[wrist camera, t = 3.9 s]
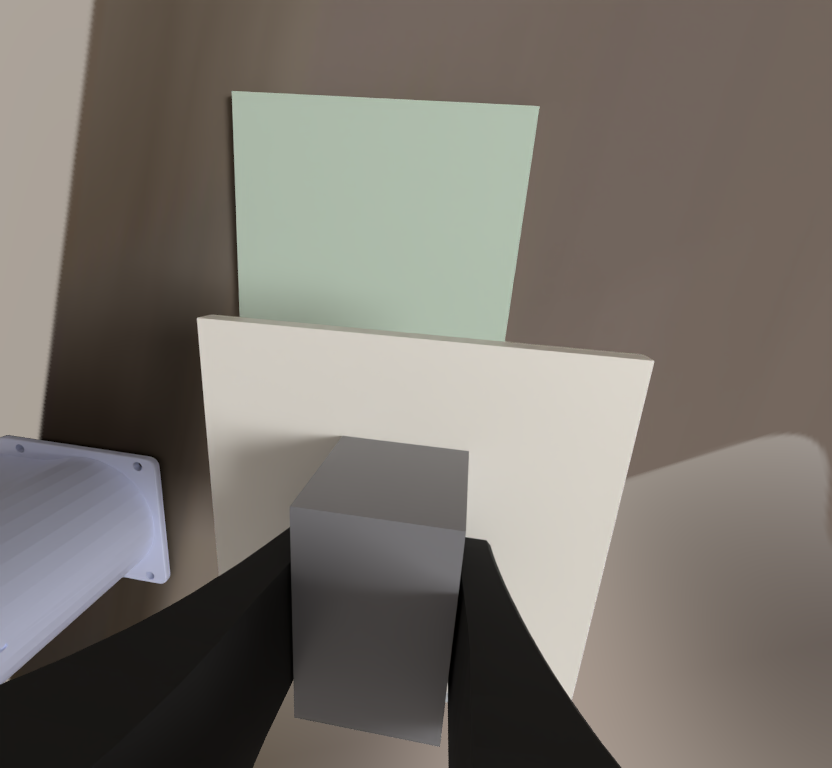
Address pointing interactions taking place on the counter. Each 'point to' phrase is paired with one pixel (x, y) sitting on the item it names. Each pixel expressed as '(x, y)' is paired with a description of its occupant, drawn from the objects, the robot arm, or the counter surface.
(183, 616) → the robot arm
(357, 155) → the mat
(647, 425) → the counter surface
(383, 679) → the lid
